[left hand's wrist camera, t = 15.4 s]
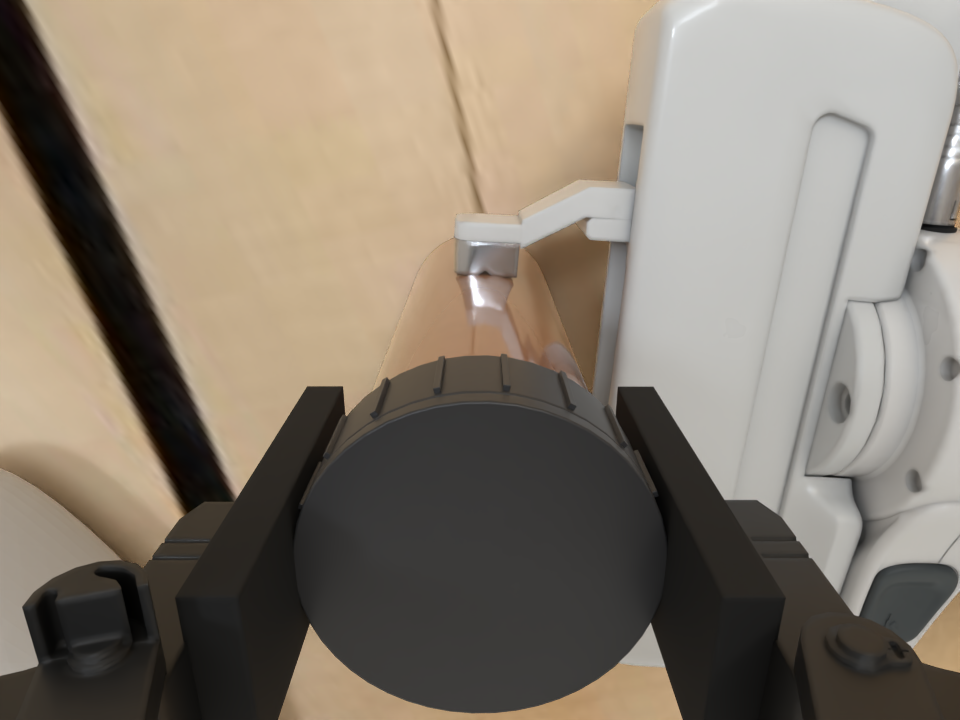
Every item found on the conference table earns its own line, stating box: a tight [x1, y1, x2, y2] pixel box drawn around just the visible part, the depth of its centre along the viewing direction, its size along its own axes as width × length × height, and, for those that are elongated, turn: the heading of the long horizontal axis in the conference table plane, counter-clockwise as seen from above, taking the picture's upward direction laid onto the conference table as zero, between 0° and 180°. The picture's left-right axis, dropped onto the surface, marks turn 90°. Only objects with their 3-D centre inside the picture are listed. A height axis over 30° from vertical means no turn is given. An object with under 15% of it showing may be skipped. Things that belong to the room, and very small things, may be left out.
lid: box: [293, 353, 667, 713], centre depth 11 cm, size 6×6×2 cm
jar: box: [372, 238, 588, 391], centre depth 18 cm, size 5×5×16 cm
